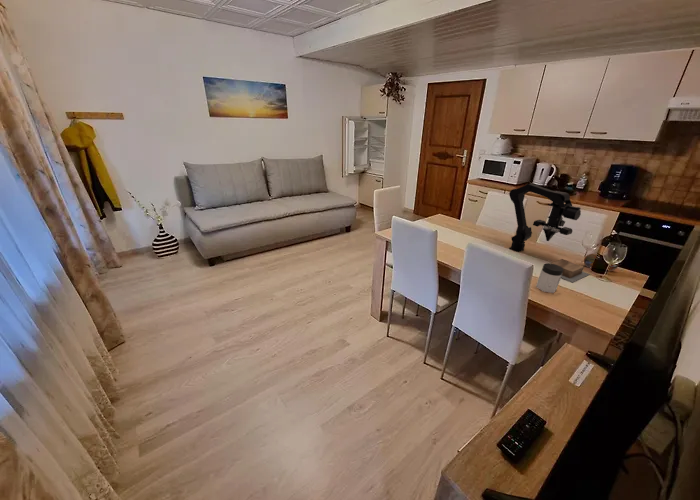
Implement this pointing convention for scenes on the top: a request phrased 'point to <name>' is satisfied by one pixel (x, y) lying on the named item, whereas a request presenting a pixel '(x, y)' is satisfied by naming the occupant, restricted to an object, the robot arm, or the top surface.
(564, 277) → the mat
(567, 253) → the top surface
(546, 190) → the robot arm
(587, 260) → the tin
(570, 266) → the block
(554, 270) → the jar
